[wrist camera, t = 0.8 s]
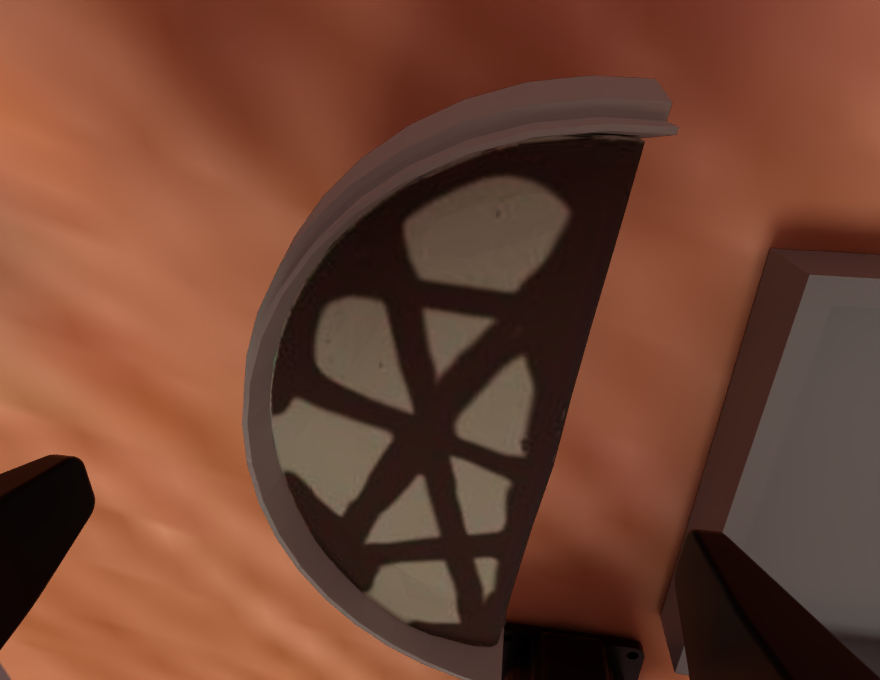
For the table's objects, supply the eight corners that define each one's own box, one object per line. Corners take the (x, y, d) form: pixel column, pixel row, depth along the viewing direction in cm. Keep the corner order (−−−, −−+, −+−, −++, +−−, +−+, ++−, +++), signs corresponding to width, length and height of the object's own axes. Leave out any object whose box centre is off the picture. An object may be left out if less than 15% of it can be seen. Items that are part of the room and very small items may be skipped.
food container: (378, 47, 15) (182, -1, 6) (592, 80, 15) (695, 77, 6) (351, 403, 21) (223, 642, 12) (506, 434, 21) (495, 704, 12)
